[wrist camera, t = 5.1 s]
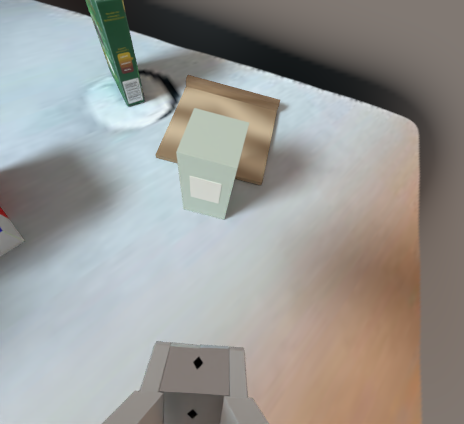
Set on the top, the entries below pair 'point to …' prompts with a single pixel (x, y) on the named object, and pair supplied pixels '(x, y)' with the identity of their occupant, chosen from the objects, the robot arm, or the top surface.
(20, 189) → the top surface
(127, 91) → the coffee box
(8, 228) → the puzzle toy
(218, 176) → the pale green box
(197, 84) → the board
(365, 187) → the top surface
